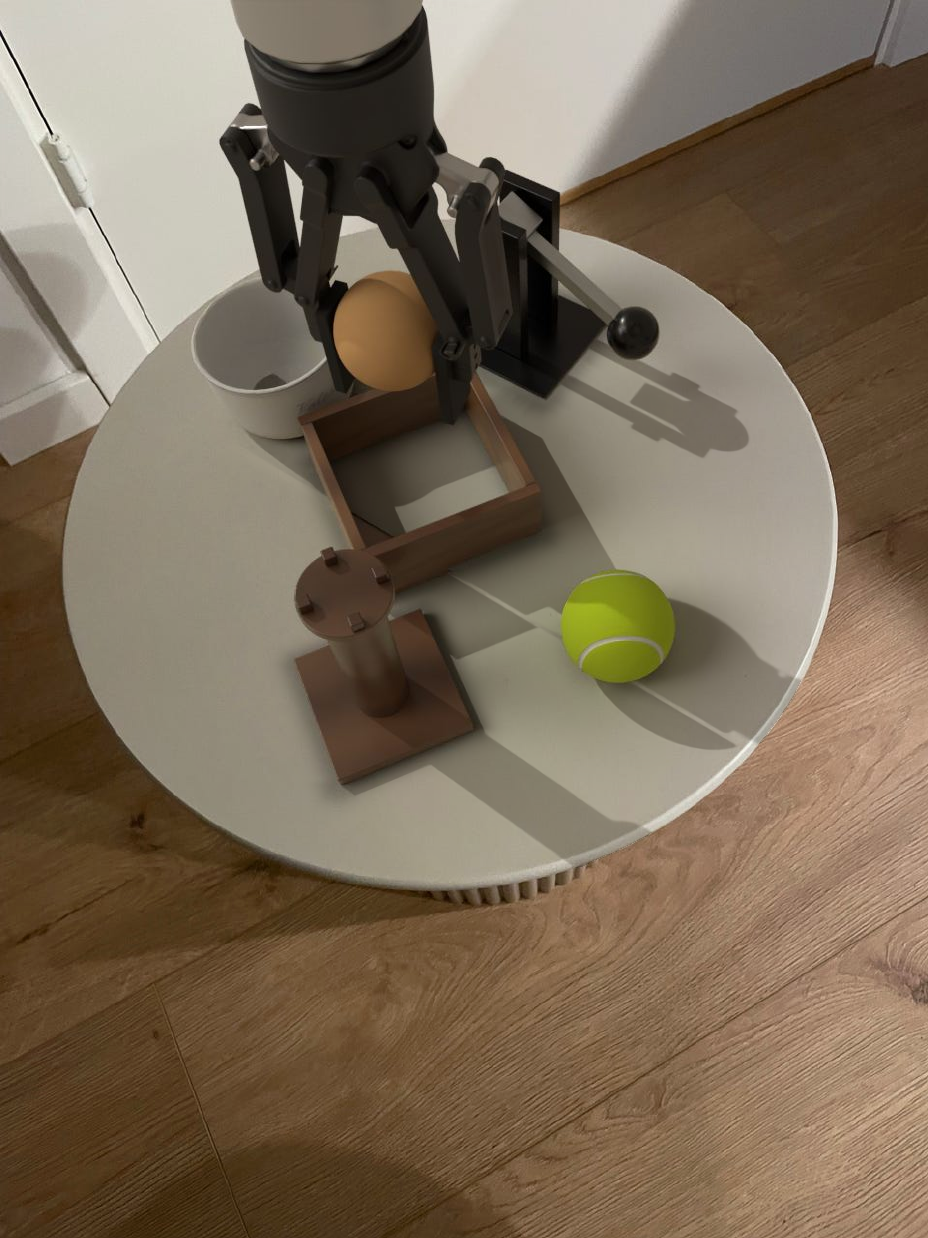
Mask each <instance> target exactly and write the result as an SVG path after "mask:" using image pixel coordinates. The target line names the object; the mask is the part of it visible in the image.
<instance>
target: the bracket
mask: <svg viewBox="0 0 928 1238" xmlns="http://www.w3.org/2000/svg"><path fill="white" fill-rule="evenodd" d="M512 191H513V192H514V193H515V194H516V195H517V196H518V197H519V198H521V199H522V200H523V201H524V202H525V203H526V204H527V205H528V206H529V207H530V208H532V209H533V210H534V211H535V212H536V213H537V214H538V215H539V216H540V217H541V218H542V219H543V221H542V222H541V224H540V225H539V227H538V228H537V230H536V231H537V232H538V233H539V234H540V235H541V236H542V237H543V238H545V239H546V240H547V241H548V242H549V243H550V244H551V245H552V246H553V247H554V248H556V249H557V250H558V251H559V252H560V229H561V228H560V227H561V226H560V225H561V223H560V221H561V219H560V218H561V192H560V191H557V190H556V189H553V188H551V187H548V186H546V185H544V184H541V183H539V182H537V181H535V180H532V179H529V178H527V177H525V176H523V175H521V174H518V173H515V172H513V171H511V170H509V169H505V176H504V180H503V184H502V187H501V191H500V194H499V198H498V205H499V204H500V203H501V202H502V201H503V200H504V199H505V198H506V197H507V196H508V195H509V194H510V192H512ZM500 224H501V231H502V238H503V245H504V252H505V259H506V266H507V274H508V281H509V288H510V295H511V302H512V309H513V312H512V315H511V317H510V319H509V321H508V323H507V325H506V327H505V329H504V331H503V333H502V335H501V337H500V339H499V341H498V343H497V345H496V347H495V348H494V349H493V350H485V349H482V348H480V349H481V363H480V365H479V366H478V367H480V368H481V369H484V370H485V371H488V372H490V373H491V374H493V375H496V376H498V377H499V378H502V379H503V380H505V381H507V382H510V383H511V384H513V385H515V386H517V387H519V388H521V389H523V390H525V391H527V392H529V393H531V394H532V395H535V396H536V397H539V398H541V399H543V400H544V399H545V398H546V397H547V396H548V394H549V393H551V391H552V390H553V389H554V388H555V386H556V385H557V384H558V383H559V381H560V380H561V379H562V377H564V375H565V374H566V373H567V372H568V371H569V369H570V368H571V367H572V365H573V364H574V363H575V362H576V361H577V360H578V358H579V357H580V355H582V353H583V352H584V351H585V349H586V348H587V347H588V346H589V345H590V344H591V342H593V340H594V339H595V337H596V336H597V335H598V334H599V333H600V331H601V330H602V329H603V328H604V327H605V325H607V324H606V323H605V322H604V321H602V320H601V319H600V318H599V317H598V316H597V315H596V314H595V313H594V312H593V311H591V310H590V309H589V308H588V307H587V306H585V305H582V304H580V303H577V302H575V301H573V300H571V299H569V298H567V297H564V296H563V295H561V294H559V281H558V280H557V279H556V278H555V277H554V276H553V275H552V274H550V273H549V272H548V271H547V270H546V269H545V268H544V267H543V266H542V265H540V264H539V263H538V262H537V261H536V260H535V259H534V258H533V257H532V256H531V255H529V254H528V253H527V232H526V229H524V228H522V227H519V226H517V225H515V224H513V223H510V222H508V221H506V220H504V219H501V218H500Z"/></svg>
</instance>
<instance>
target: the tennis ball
mask: <svg viewBox="0 0 928 1238" xmlns="http://www.w3.org/2000/svg"><path fill="white" fill-rule="evenodd" d="M675 633H676V620H675V614H674V609H673V608H672V605H671V602H670V600H669V599H668V596H667V595H666V594H665V592H664V591H663V590H662V588H661V587H660V586H659V585H658V584H657V583H656V582H655V581H653V580H651V579H650V578H649V577H647V576H645V575H644V574H642V573H639V572H635V571H631V570H627V569H609V570H604V571H600V572H597V573H595V574H592V575H590V576H589V577H587V578H585V579H584V580H582V581H581V582H580V583H579V584H577V585H576V586H575V588H574V589H573V590H572V592H571V593H570V594H569V596H568V597H567V599H566V602H565V604H564V606H563V609H562V613H561V618H560V634H561V640H562V643H563V646H564V649H565V652H566V653H567V656H568V657H569V659H570V660H571V661H572V663H573V664H574V665H575V666H576V667H577V668H578V669H580V670H581V672H583V673H584V674H586V675H588V676H589V677H592V678H594V679H596V680H599V681H602V682H605V683H606V682H607V683H615V684H621V683H622V684H623V683H629V682H633V681H637V680H639V679H642V678H644V677H646V676H648V675H649V674H651V673H652V672H654V671H655V670H656V669H658V668H659V667H660V665H662V663H663V662H664V661H665V659H666V658H667V657H668V655H669V653H670V651H671V648H672V646H673V643H674V638H675Z"/></svg>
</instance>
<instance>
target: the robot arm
mask: <svg viewBox="0 0 928 1238" xmlns="http://www.w3.org/2000/svg"><path fill="white" fill-rule="evenodd" d="M229 1H230V4H231V8H232V12H233V16H234V20H235V23H236V26H237V28H238V30H239V32H240V33H241V36H242V37H243V47H244V52H245V55H246V60H247V63H248V66H249V70H250V75H251V78H252V81H253V85H254V89H255V92H256V96H257V99H258V104H259V106H258V105H256V104H254V103H251V102H247V103H244V105H243V107H242V108H241V110H240V111H238V113H237V115H236V116H235V117H234V118H233V120H232V121H231V123H230V124H229V125H228V127H227V128H226V130H225V131H224V133H223V134H222V135H221V136H220V138H219V142H218V143H219V146H220V149H221V150H222V153H223V154H224V156H225V157H226V159H227V161H228V164H229V165H230V166H231V168H232V170H233V172H234V173H235V175H236V177H237V180H238V183H239V188H240V192H241V196H242V200H243V205H244V209H245V214H246V217H247V222H248V226H249V229H250V235H251V239H252V243H253V247H254V253H255V256H256V260H257V264H258V269H259V273H260V277H261V278H262V282H263V284H264V285H265V286H266V288H268V289H269V290H270V291H272V292H275V293H280V292H281V291H282V290H283V289H284V290H286V291H288V292H290V293H292V294H293V295H294V299H295V301H296V302H297V303H298V304H299V305H300V306H301V307H303V311H304V314H305V318H306V321H307V324H308V326H309V327H308V328H309V331H310V334H311V336H312V337H313V339H314V340H315V341H317V342H321V343H322V344H323V348H324V351H325V355H326V359H327V362H328V366H329V369H330V373H331V377H332V380H333V384H334V387H335V391H338V392H341V393H345V394H347V392H348V390H349V389H350V387H351V385H352V383H353V382H354V383H355V380H356V378H355V377H354V376H353V375H352V374H351V373H350V372H349V371H348V369H347V368H346V367H345V365H344V364H343V362H342V360H341V359H340V357H339V354H338V352H337V349H336V346H335V341H334V335H333V326H334V318H335V313H336V310H337V307H338V305H339V303H340V301H341V299H342V297H343V296H344V294H345V293H346V292H347V290H348V289H349V284H348V282H345V281H342V280H338V279H334V281H333V283H332V284H331V283H330V281H331V279H332V277H333V276H334V274H335V273H336V271H337V270H338V268H339V265H338V264H336V259H337V254H338V247H339V242H340V237H341V230H342V225H343V219H344V217H359V218H362V219H364V220H365V221H368V222H370V223H373V224H374V225H377V227H378V229H379V231H380V233H381V235H382V237H383V239H384V241H385V243H386V244H387V246H388V247H389V249H391V250H397V251H398V253H399V255H400V257H401V259H402V261H403V263H404V264H405V267H406V268H407V271H408V274H411V276H412V278H413V280H414V282H415V284H416V286H417V288H418V290H419V292H420V294H421V296H422V298H423V300H424V302H425V304H426V306H427V308H428V310H429V312H430V314H431V316H432V318H433V320H434V322H435V324H436V326H437V328H438V330H439V334H438V336H437V338H436V339H435V341H434V343H433V345H432V353H433V361H434V368H435V375H436V382H437V389H438V397H439V404H440V411H441V418H442V419H441V422H442V423H443V424H447V425H450V426H455V424H456V422H457V420H458V418H459V416H460V414H461V413H462V412H461V410H462V408H463V406H464V404H465V402H466V400H467V398H468V396H469V394H470V392H471V387H470V382H471V380H472V378H473V376H474V374H475V372H477V370H478V368H479V367H480V366H479V365H480V363H481V349H480V348H482V349H485V350H493V349H494V348H495V347H496V345H497V343H498V341H499V339H500V337H501V335H502V333H503V331H504V329H505V327H506V325H507V323H508V321H509V319H510V317H511V315H512V312H513V309H512V302H511V295H510V288H509V281H508V274H507V266H506V259H505V252H504V245H503V238H502V231H501V224H500V216H499V209H498V205H499V194H500V191H501V187H502V184H503V180H504V176H505V170H506V168H505V166H504V164H503V163H502V162H501V160H499V159H497V158H496V157H493V156H487V157H484V158H482V160H481V161H480V163H479V165H478V166H477V165H474V164H472V163H470V162H468V161H466V160H464V159H462V158H460V157H457V156H456V155H453V154H451V153H449V151H448V146H447V143H446V140H445V139H444V137H443V135H442V134H441V132H440V130H439V128H438V126H437V123H436V120H435V80H434V73H433V72H434V70H433V61H432V60H433V59H432V51H431V42H430V32H429V31H430V30H429V21H428V15H427V12H426V10H425V7H424V5H423V2H424V0H229ZM286 164H287V165H288V167H289V168H290V169H291V170H292V171H293V172H294V173H295V175H296V176H297V177H298V178H299V179H300V180H301V185H302V194H301V204H300V210H299V211H300V214H299V220H300V221H302V226H301V235H300V239H299V234H298V230H297V223H296V219H295V218H296V217H295V212H294V207H293V206H294V205H293V201H292V197H291V191H290V184H289V178H288V174H287V168H286ZM435 183H436V184H437V185H439V186H440V187H441V188H442V189H443V190H444V192H445V194H446V202H447V205H448V206H447V209H446V213H447V215H448V216H449V217H450V218H453V219H455V221H454V238H455V244H456V251H457V253H456V251H455V249H454V246H453V244H452V242H451V240H450V238H449V236H448V232H447V231H446V228H445V227H444V225H443V222H442V220H441V218H440V216H439V215H440V214H439V211H438V210H439V199H438V196H437V193H436V190H435V189H434V186H433V185H435ZM299 240H300V241H299ZM457 255H458V256H457ZM335 265H336V266H335Z"/></svg>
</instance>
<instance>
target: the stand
mask: <svg viewBox="0 0 928 1238" xmlns="http://www.w3.org/2000/svg"><path fill="white" fill-rule="evenodd" d="M320 555H321V556H318V557H317V558H316V559H314V560H313V561H311V562H310V563H309V564H308V565H307V566H306V567H305V569H304V570H303V571H302V573H301V574H300V576H299V577H298V580H297V581H296V583H295V584H296V585H295V588H294V594H293V598H294V599H293V601H294V607H295V610H296V613H297V615H298V618H299V620H300V621H301V623H302V624H303V626H304V627H305V628H306V629H307V630H308V631H309V632H311V633H312V634H313V635H314V636H316V637H318V638H321V639H323V640H326V641H327V644H328V645H326V646H323V647H321V648H320V647H319V648H318V649H315V650H313V651H310V652H308V653H306V654H303V655H300V656H298V657H295V658H293V664H294V666H295V669H296V671H297V674H298V677H299V679H300V682H301V684H302V688H303V690H304V694H305V695H306V698H307V701H308V704H309V707H310V709H311V712H312V714H313V717H314V721H315V723H316V725H317V729H318V731H319V734H320V736H321V738H322V742H323V745H324V748H325V750H326V753H327V755H328V759H329V761H330V764H331V767H332V769H333V771H334V774H335V777H336V781H337V782H338V784H339V785H340V786H343V785H345V784H347V783H350V782H353V781H355V780H358V779H360V778H362V777H364V776H367V775H369V774H372V773H374V772H377V771H380V770H381V769H384V768H386V767H389V766H391V765H394V764H397V763H398V762H401V761H403V760H405V759H408V758H410V757H412V756H415V755H418V754H420V753H422V752H425V751H427V750H429V749H432V748H434V747H437V746H440V745H441V744H444V743H446V742H449V741H451V740H453V739H456V738H458V737H461V736H463V735H466V734H468V733H471V732H473V731H474V730H475V729H474V724H473V722H472V720H471V717H470V715H469V713H468V710H467V708H466V705H465V704H464V701H463V699H462V697H461V695H460V692H459V690H458V688H457V686H456V683H455V681H454V679H453V677H452V675H451V672H450V670H449V668H448V666H447V663H446V661H445V659H444V657H443V655H442V652H441V650H440V648H439V646H438V643H437V641H436V639H435V637H434V635H433V632H432V630H431V628H430V625H429V623H428V621H427V618H426V617H425V613H424V612H423V610H422V609H421V608H419V609H416V610H414V611H410V612H408V613H406V614H403V615H400V616H397V617H395V618H393V619H391V620H389V616H390V615H391V612H392V609H393V607H394V604H395V599H396V594H395V589H394V584H393V580H392V577H391V574H390V572H389V570H388V569H387V567H386V566H385V565H384V564H383V563H382V562H381V561H380V560H379V559H378V558H376V557H375V556H373V555H371V554H369V553H367V552H364V551H360V550H354V549H349V548H344V549H337V550H335V549H334V547H333V546H328V547H327V548H324V549H321V550H320Z"/></svg>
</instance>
